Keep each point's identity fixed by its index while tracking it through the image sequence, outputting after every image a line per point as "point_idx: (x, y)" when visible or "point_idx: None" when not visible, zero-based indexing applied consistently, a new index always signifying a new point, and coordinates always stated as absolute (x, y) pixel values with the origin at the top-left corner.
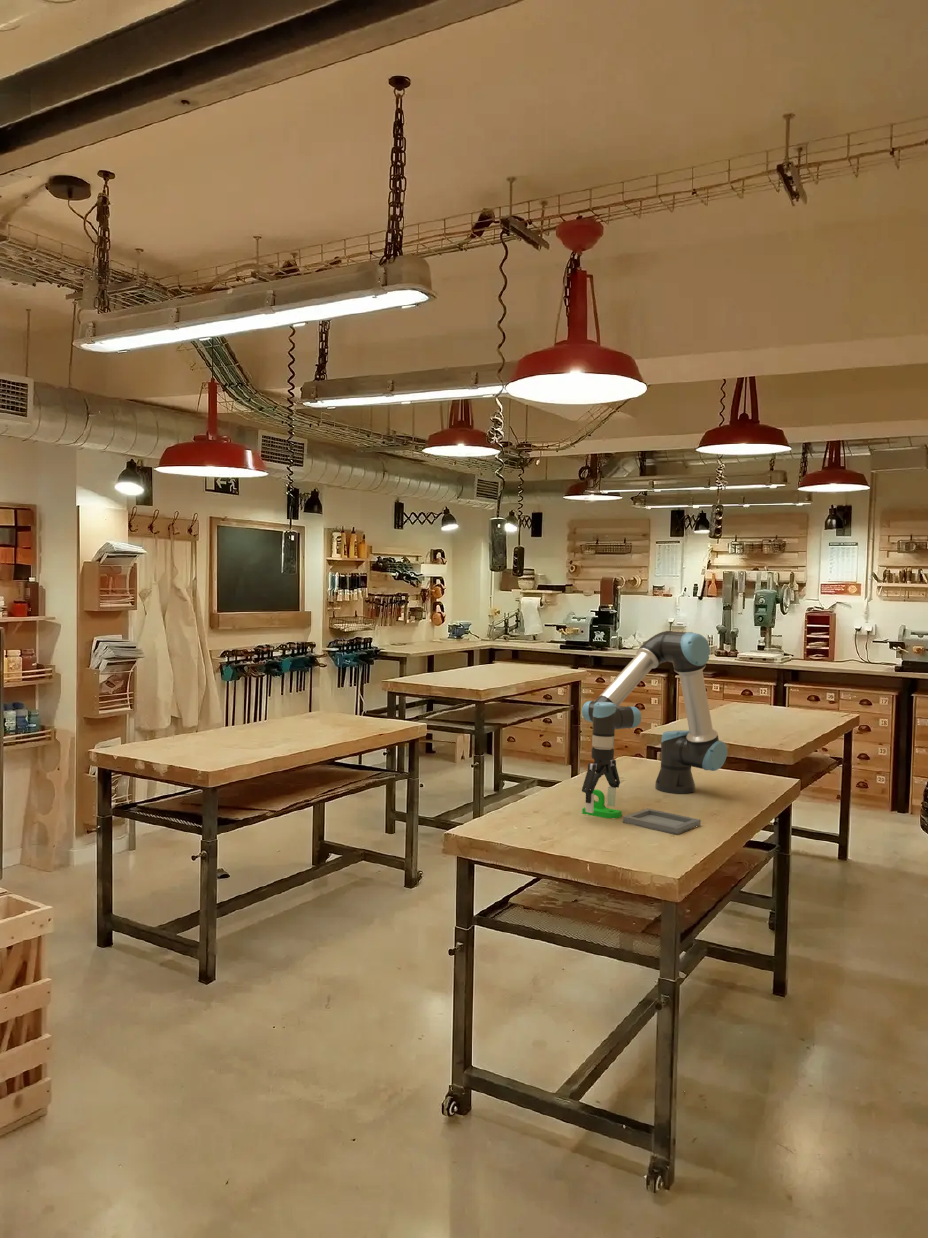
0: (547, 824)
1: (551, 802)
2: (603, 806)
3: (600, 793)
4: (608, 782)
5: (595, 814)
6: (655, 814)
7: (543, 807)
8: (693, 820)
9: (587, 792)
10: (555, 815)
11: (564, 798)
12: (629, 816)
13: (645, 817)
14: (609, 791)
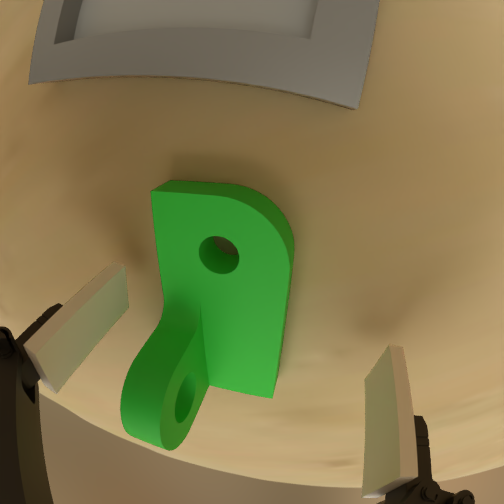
0: (493, 407)
1: (195, 444)
2: (179, 324)
3: (156, 411)
4: (38, 421)
5: (284, 328)
6: (74, 6)
7: (271, 458)
8: None
9: (466, 494)
10: (364, 431)
11: None
12: (319, 53)
13: (146, 13)
14: (70, 362)
